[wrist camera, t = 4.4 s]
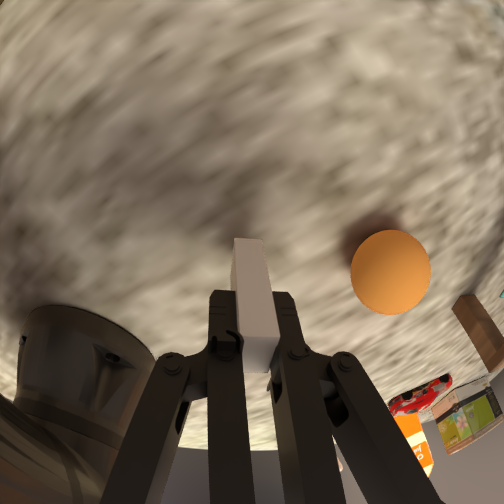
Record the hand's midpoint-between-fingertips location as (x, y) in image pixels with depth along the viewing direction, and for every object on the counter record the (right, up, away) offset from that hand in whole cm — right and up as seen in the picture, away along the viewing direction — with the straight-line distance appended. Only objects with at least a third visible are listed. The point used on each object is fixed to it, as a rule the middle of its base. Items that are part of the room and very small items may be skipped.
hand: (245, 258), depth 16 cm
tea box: (+52, -34, +33) cm, 70 cm away
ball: (+9, -1, +1) cm, 9 cm away
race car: (+30, -24, +24) cm, 45 cm away
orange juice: (+34, -37, +33) cm, 61 cm away
